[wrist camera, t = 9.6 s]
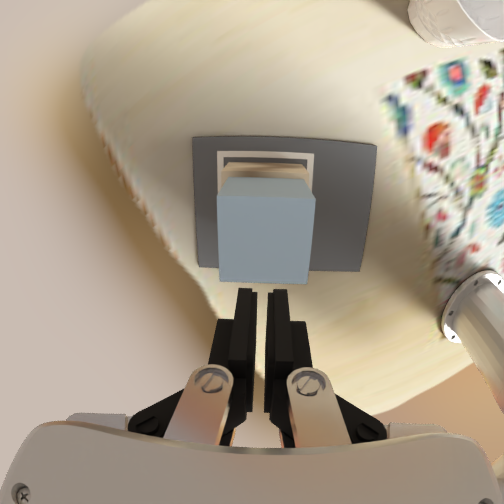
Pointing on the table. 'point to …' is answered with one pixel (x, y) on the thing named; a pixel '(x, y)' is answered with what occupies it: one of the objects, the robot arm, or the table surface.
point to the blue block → (265, 230)
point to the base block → (264, 171)
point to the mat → (320, 183)
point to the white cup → (458, 21)
